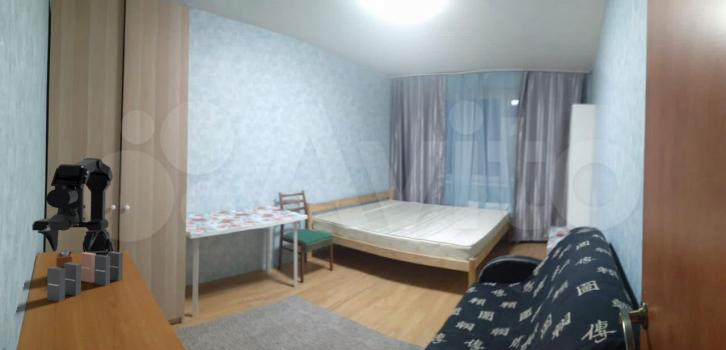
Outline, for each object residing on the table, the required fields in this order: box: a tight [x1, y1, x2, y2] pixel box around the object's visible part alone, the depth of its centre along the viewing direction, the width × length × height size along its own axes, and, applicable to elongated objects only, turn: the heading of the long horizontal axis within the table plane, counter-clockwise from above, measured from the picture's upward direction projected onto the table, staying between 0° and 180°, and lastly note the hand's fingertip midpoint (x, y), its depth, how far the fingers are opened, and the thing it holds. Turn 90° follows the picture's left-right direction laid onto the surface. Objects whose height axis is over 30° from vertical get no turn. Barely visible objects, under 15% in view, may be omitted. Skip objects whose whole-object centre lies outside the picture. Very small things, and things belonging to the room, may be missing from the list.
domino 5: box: [108, 251, 124, 282], centre depth 129 cm, size 2×5×10 cm, turn 76°
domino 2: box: [64, 262, 82, 297], centre depth 115 cm, size 2×5×10 cm, turn 76°
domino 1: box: [46, 266, 66, 303], centre depth 110 cm, size 2×5×10 cm, turn 76°
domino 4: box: [93, 255, 111, 286], centre depth 124 cm, size 2×5×10 cm, turn 76°
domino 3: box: [80, 252, 96, 283], centre depth 127 cm, size 2×5×10 cm, turn 76°
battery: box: [55, 250, 74, 268], centre depth 127 cm, size 4×7×10 cm, turn 37°
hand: (71, 250), depth 114 cm, fingers open, 9 cm apart
